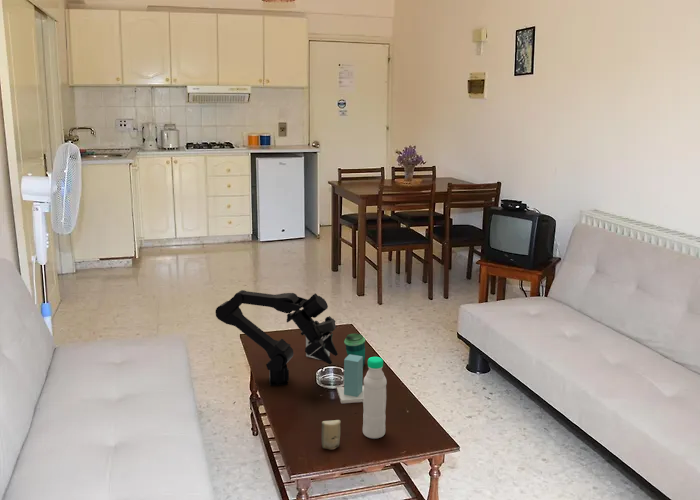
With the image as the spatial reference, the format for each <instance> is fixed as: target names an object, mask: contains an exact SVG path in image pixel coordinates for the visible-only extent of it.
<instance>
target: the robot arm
mask: <svg viewBox="0 0 700 500" xmlns="http://www.w3.org/2000/svg"><path fill="white" fill-rule="evenodd" d="M241 305H251V306H260V307H267V308H273V309H275V310H276V311H277V312H279V313H284V314H287V315H286V323H289V322H291V320H292V321H293V322H294V324H295V326H297V328H298V329H299V330H300V335H301V336H303V335H304V337H305V339H306V338H307V339H308V340H309V342H308V343H309V344H308V345H307V346H306V345H305V347H304V352H305V354H306V353H307V355H308V356H309V355H310V354H311V355H310V356H313V357H316V358H318V359H320V360H319V361H322V362H324V363H327V364H328V365H331V364H333V360H332V359H331V357H330V356H328V354H327V352H326V351H325V349H326V350H327V351H329V352H330V354H332V355H333V356H335V357H336V356H337V355H338V354H339V353H338V350H337V349H336V346H335V343H334V342H333V335H334V333H333V332H334V331H335V330H336V328H337V325H336V320H335V319H334V318H332V317H331V316H330V315H329V316H326V317H325V318H324V321H322V322H319V321H318V320H314V319H316V318H317V317H318V316H320V315H321V314H322V313H323V312H325V311H327V310H328V307H329V306H328V303H327V301H326V300H325V298H323V297H322V296H320V295H318V294H317V293H315V292H314V293H313V294H312V295H311V296H310V297H309V298H308V299H307V298H304V297H301V296H298V295H297V294H296V293H294V292H283V293H278V294H271V293H263V292H262V293H261V292H257V291H256V292H255V291H249V290H243V289H241V290H240V291H238V292H236V293H235V294H234V295H233V297H231V298H230V299H229V300H226V301H224V302H223V303H222V304H220V305H219V306H217V307H216V308H215V317H216V319H217V320H219V321H221V322H222V323H224V324H226V325H229V326H233V327H235V328H237V329H238V330H239V331H241V332H242V333H243V334H245V335H246V336H247V337H248V338H250V339H251V340H252V341H253V342H254V343H255V344H256V345H258V346H259V347H260V348H261V349H263V350H264V351H265V352H266V354H267V357H268V358H269V359H270V360H269V361H268V362H267V363H266V364H265V366H266V369H267V370H268V371H269V376H268V379H269V386H272V387H274V386H287V385H288V384H289V381H290V374H289V373H290V369H289V368H288V365H287V363H289V361H291V359H292V358H293V357H294V349H293V348H292V347H291V344H290V343H287V342H286V341H285V339H283V338H280V340H276V339H274V338H272V337H271V336H270V335H269V334H267V333H266V332H265V331H264V330H262V329H261V328H260V327H259V326H257V325H256V324H254V322H252V321H251V320H250V319H248V317H246V316H245V315H244V314H243V312H242V309H241V308H240V307H241ZM313 318H314V319H313ZM318 359H317V360H318Z"/></svg>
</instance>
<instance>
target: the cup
mask: <svg viewBox="0 0 700 500" xmlns="http://www.w3.org/2000/svg"><path fill="white" fill-rule="evenodd" d="M365 342H366V338H365V337H364V336H363V335H362V334H360V333H349V334H347V335H346V337H345V339H344V341H343V343H344V345H345V350H346V357H347V356H348V355H349V354H351V355H358V356H363V367H364V366H365V365H366V345H365V344H366V343H365Z"/></svg>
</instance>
